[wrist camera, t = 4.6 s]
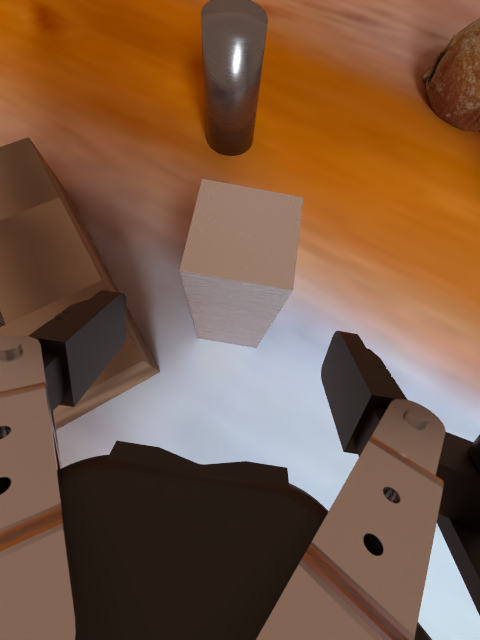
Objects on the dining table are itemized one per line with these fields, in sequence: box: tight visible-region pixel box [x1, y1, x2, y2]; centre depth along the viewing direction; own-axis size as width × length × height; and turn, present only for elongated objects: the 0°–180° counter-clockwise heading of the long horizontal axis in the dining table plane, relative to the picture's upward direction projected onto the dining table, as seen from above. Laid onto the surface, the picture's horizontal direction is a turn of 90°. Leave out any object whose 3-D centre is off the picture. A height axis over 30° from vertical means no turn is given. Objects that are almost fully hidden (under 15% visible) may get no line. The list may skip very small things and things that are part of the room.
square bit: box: [179, 179, 303, 348], centre depth 15 cm, size 4×4×10 cm
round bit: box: [201, 0, 268, 156], centre depth 21 cm, size 4×4×8 cm
